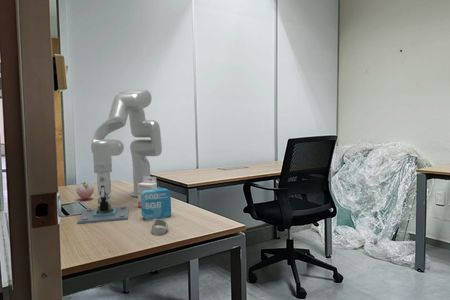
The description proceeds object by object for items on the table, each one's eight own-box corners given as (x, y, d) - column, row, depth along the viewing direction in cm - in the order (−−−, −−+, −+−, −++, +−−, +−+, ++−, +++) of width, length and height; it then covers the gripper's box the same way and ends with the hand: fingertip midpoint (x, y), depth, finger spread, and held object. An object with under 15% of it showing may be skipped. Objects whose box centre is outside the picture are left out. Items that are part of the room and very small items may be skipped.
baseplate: (128, 208, 166) (128, 204, 166) (127, 219, 147) (127, 215, 147) (84, 211, 161) (84, 207, 161) (77, 224, 142) (77, 219, 142)
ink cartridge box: (137, 207, 168) (136, 177, 167) (144, 205, 172) (142, 176, 171) (151, 209, 164) (150, 178, 163) (158, 206, 169) (157, 176, 168)
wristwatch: (152, 228, 135) (152, 215, 134) (169, 227, 135) (168, 215, 135) (149, 236, 126) (149, 222, 125) (167, 235, 126) (166, 222, 126)
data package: (143, 220, 145) (142, 192, 144) (141, 217, 150) (140, 190, 149) (171, 216, 150) (170, 189, 149) (168, 214, 154) (167, 187, 153)
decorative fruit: (97, 199, 187) (96, 181, 187) (82, 202, 181) (81, 183, 180) (89, 197, 194) (88, 179, 193) (74, 199, 188) (73, 181, 187)
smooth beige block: (111, 209, 157) (110, 196, 156) (110, 212, 152) (109, 198, 152) (99, 210, 156) (98, 197, 155) (98, 212, 151) (97, 199, 150)
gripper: (110, 171, 145) (112, 213, 147) (113, 166, 161) (114, 204, 163) (91, 172, 143) (93, 215, 145) (96, 166, 160) (98, 205, 161)
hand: (104, 208), depth 154 cm, fingers closed on smooth beige block, 4 cm apart
